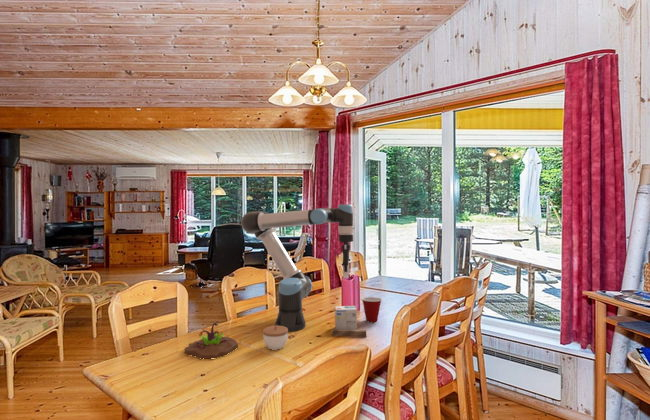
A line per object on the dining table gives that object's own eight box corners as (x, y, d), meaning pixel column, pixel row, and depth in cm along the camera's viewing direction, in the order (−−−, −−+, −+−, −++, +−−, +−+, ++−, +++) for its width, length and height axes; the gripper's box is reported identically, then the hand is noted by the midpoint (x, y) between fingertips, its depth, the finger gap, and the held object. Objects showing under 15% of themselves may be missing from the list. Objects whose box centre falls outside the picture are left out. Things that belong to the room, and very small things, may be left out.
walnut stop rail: (332, 335, 169) (332, 330, 169) (332, 334, 171) (332, 329, 171) (366, 337, 167) (366, 331, 167) (366, 335, 169) (366, 330, 169)
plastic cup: (381, 317, 196) (381, 295, 196) (382, 324, 185) (382, 301, 185) (361, 317, 197) (361, 295, 197) (361, 323, 186) (361, 300, 186)
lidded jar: (264, 353, 149) (264, 331, 149) (261, 344, 159) (261, 323, 159) (290, 351, 152) (289, 328, 152) (285, 341, 162) (285, 320, 162)
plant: (246, 346, 157) (246, 321, 157) (211, 363, 141) (210, 335, 141) (214, 338, 168) (214, 314, 168) (178, 353, 151) (177, 326, 151)
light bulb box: (355, 326, 182) (355, 305, 182) (357, 331, 175) (357, 309, 175) (334, 326, 182) (334, 305, 181) (335, 331, 175) (335, 309, 175)
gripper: (352, 235, 176) (353, 280, 176) (353, 232, 199) (354, 271, 200) (337, 235, 176) (337, 280, 177) (340, 232, 200) (340, 271, 200)
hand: (346, 275), depth 188 cm, fingers open, 12 cm apart
